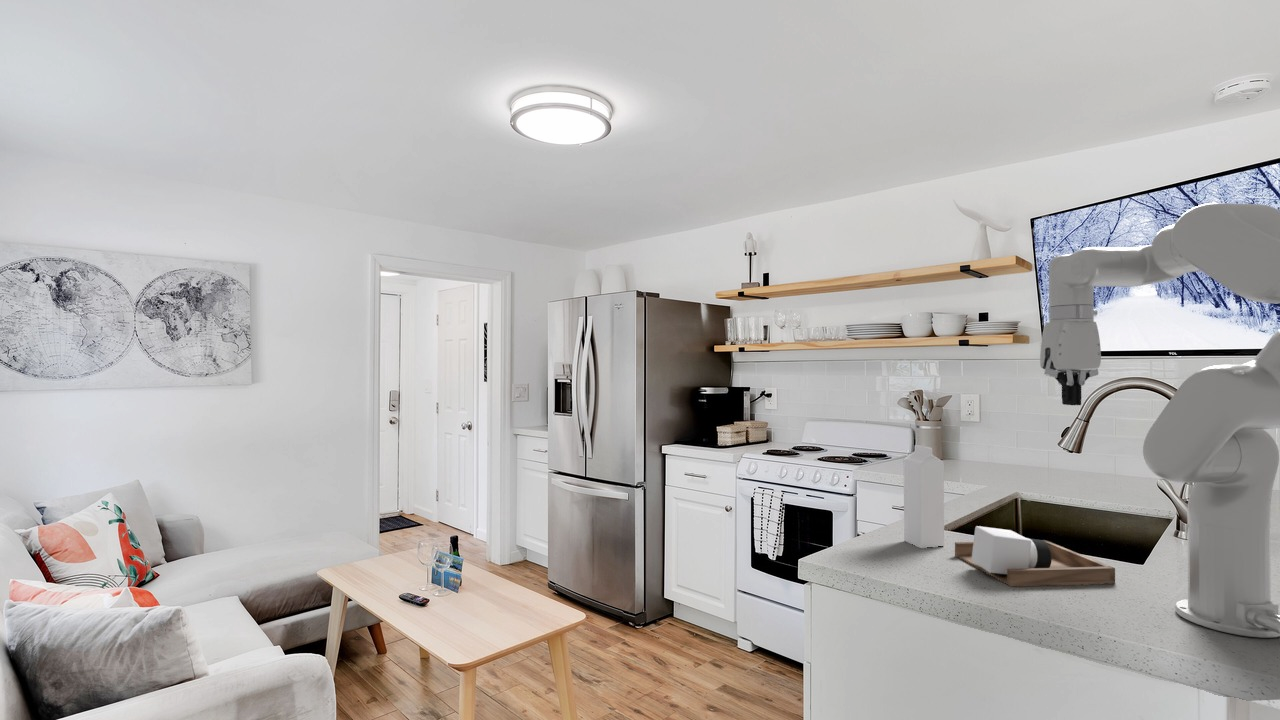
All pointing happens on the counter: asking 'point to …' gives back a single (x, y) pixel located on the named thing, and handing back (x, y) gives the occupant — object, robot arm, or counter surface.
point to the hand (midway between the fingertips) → (1071, 404)
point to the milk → (923, 498)
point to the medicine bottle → (1008, 551)
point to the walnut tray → (1050, 569)
